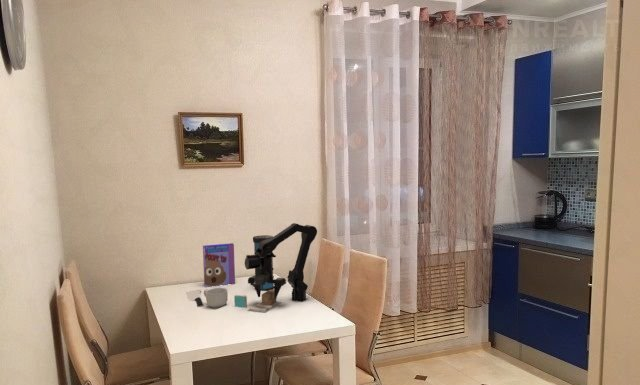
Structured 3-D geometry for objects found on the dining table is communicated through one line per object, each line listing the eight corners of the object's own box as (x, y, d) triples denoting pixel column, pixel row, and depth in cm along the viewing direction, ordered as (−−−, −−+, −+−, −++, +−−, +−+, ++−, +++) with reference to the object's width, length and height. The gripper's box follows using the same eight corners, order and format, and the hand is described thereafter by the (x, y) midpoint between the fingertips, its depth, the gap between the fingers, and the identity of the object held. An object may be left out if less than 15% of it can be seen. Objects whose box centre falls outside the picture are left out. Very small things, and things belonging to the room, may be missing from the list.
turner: (266, 300, 228) (266, 289, 228) (280, 302, 225) (280, 290, 225) (250, 310, 214) (249, 297, 213) (264, 311, 211) (264, 299, 210)
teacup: (232, 305, 224) (231, 289, 223) (213, 310, 216) (213, 294, 215) (216, 300, 233) (215, 285, 233) (198, 305, 225) (197, 289, 225)
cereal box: (205, 287, 260) (203, 246, 258) (204, 285, 264) (202, 245, 263) (235, 284, 266) (233, 244, 265) (233, 282, 270) (232, 242, 269)
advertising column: (278, 288, 253) (277, 236, 251) (263, 293, 244) (262, 239, 243) (265, 285, 260) (263, 234, 259) (250, 289, 252) (248, 237, 250)
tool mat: (282, 303, 225) (282, 302, 225) (265, 314, 209) (265, 313, 209) (265, 301, 229) (265, 300, 229) (246, 312, 213) (246, 310, 213)
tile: (246, 307, 219) (246, 295, 219) (245, 308, 218) (244, 296, 218) (236, 306, 222) (236, 294, 221) (234, 307, 220) (234, 295, 220)
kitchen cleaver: (182, 291, 250) (200, 287, 253) (183, 294, 250) (201, 290, 253) (185, 307, 220) (205, 302, 224) (186, 311, 220) (206, 306, 224)
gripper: (241, 269, 216) (242, 300, 217) (275, 271, 209) (276, 304, 210) (253, 264, 226) (254, 294, 227) (286, 266, 219) (287, 297, 220)
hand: (267, 297), depth 221 cm, fingers open, 9 cm apart
